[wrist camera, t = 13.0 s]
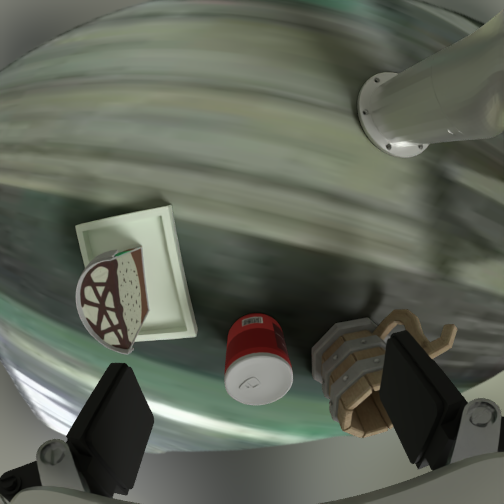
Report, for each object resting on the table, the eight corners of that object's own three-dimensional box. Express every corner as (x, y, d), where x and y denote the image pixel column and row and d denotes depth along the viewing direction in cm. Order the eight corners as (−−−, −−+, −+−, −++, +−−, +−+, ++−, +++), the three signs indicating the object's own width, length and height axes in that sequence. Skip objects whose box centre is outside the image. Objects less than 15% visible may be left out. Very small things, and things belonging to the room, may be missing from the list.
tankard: (346, 393, 45) (373, 455, 31) (295, 363, 43) (313, 433, 28) (426, 309, 42) (479, 354, 27) (383, 265, 39) (442, 307, 25)
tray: (171, 204, 36) (167, 206, 34) (197, 329, 41) (196, 336, 39) (82, 223, 36) (75, 225, 34) (113, 336, 41) (109, 342, 39)
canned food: (217, 338, 41) (210, 386, 31) (252, 300, 40) (255, 342, 29) (257, 364, 43) (261, 414, 32) (292, 330, 41) (307, 376, 31)
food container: (101, 236, 36) (63, 254, 27) (141, 234, 37) (110, 254, 27) (113, 317, 39) (84, 352, 30) (151, 319, 40) (128, 358, 30)
